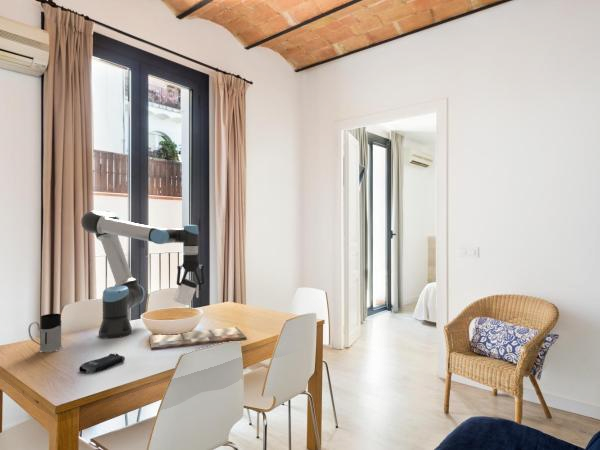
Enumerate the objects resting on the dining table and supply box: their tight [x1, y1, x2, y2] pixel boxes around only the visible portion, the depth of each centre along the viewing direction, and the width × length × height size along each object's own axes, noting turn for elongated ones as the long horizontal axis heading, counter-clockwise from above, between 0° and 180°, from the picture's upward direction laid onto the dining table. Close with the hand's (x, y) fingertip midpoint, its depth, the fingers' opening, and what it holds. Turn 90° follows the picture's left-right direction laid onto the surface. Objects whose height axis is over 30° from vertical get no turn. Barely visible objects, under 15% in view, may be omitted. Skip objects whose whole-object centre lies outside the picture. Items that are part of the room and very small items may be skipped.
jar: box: [172, 278, 198, 306], centre depth 207 cm, size 9×8×12 cm
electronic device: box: [78, 352, 126, 374], centre depth 153 cm, size 9×6×15 cm
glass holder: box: [28, 313, 63, 353], centre depth 171 cm, size 9×14×15 cm, turn 160°
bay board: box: [149, 326, 248, 351], centre depth 191 cm, size 43×20×1 cm, turn 113°
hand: (190, 297), depth 208 cm, fingers closed on jar, 7 cm apart
